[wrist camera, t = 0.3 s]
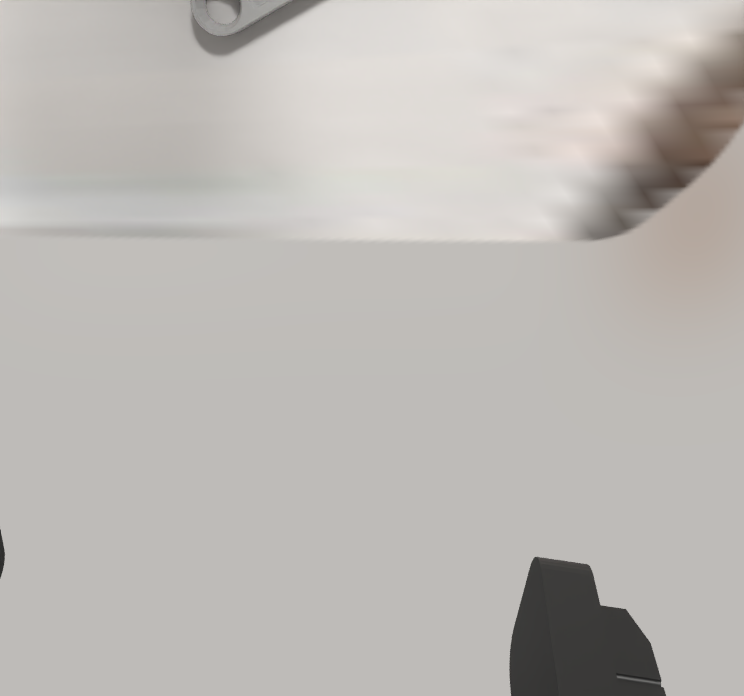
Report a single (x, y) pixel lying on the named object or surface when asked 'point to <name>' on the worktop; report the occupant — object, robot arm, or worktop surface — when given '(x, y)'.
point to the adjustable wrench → (253, 7)
